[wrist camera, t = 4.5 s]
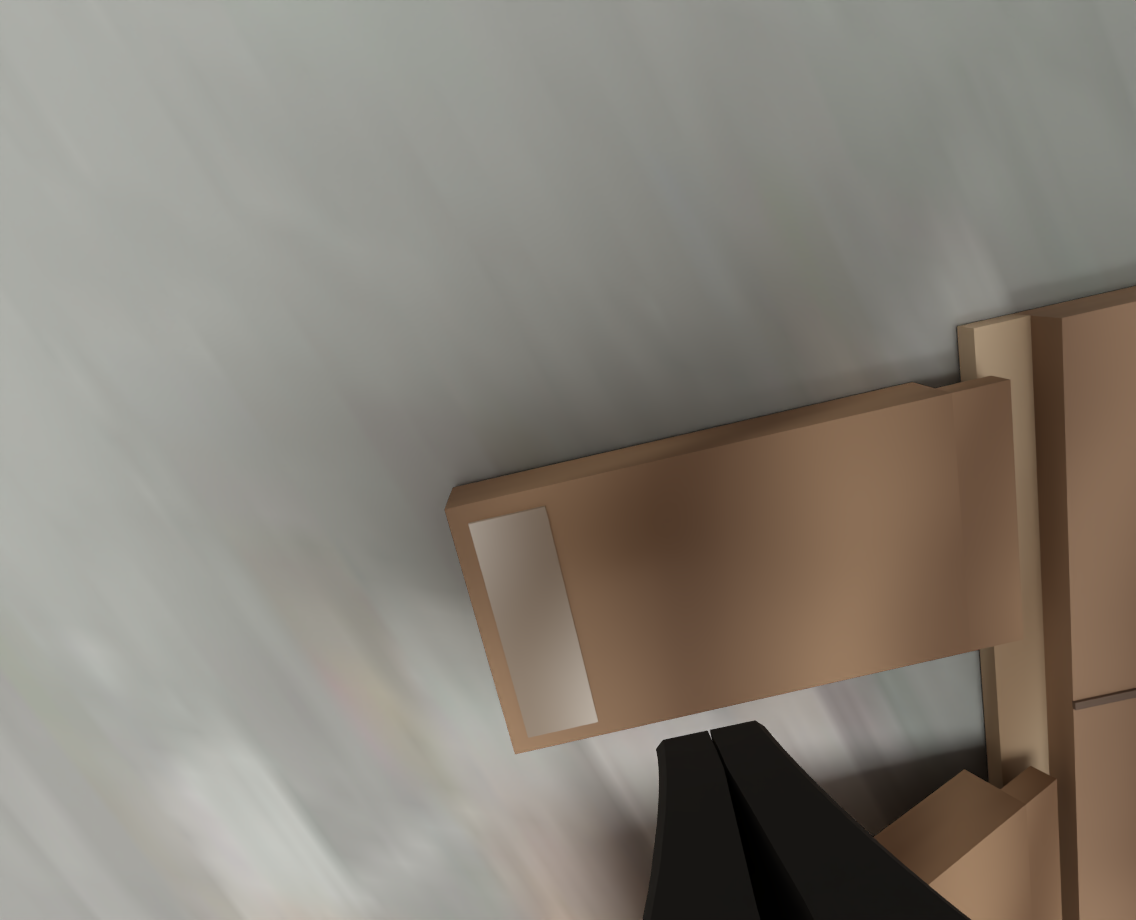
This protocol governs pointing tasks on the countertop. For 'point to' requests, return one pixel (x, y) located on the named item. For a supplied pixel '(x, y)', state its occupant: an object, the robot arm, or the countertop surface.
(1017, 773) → the laid floor
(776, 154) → the countertop surface
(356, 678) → the countertop surface
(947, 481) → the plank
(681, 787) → the robot arm
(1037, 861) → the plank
